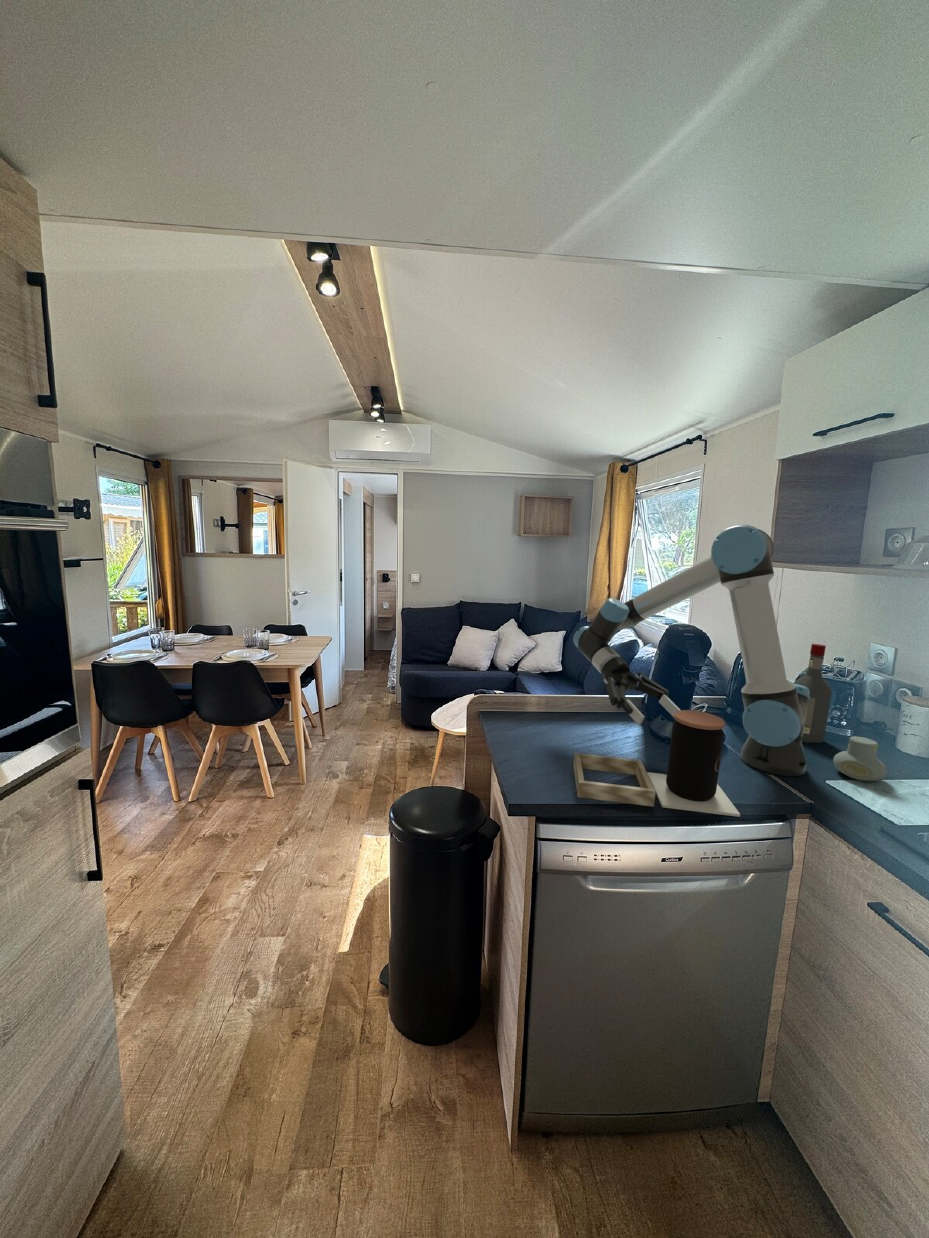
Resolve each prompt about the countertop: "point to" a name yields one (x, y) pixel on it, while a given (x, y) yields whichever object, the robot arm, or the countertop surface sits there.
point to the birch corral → (613, 791)
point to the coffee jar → (695, 755)
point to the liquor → (816, 697)
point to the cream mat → (670, 800)
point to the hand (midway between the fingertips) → (660, 717)
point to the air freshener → (860, 760)
